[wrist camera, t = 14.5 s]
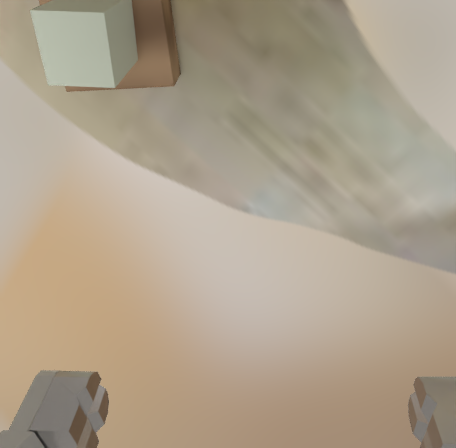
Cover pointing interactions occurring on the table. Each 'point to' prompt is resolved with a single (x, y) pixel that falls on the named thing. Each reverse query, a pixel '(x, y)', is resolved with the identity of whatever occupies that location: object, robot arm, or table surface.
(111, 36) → the sage block
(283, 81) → the table surface
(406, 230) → the table surface
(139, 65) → the walnut block
